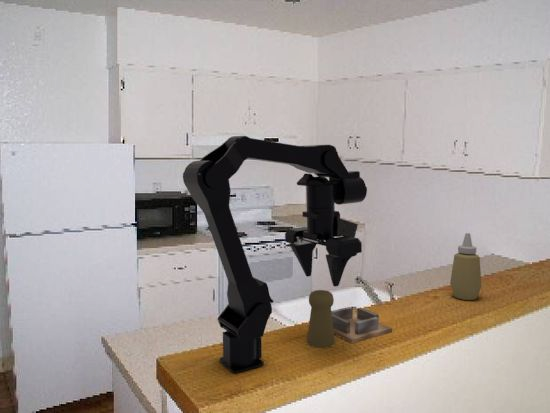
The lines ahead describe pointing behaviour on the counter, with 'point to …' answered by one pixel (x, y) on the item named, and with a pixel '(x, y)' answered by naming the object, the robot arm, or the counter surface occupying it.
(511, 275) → the counter surface
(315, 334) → the cork
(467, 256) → the squeeze bottle
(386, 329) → the clip holder
